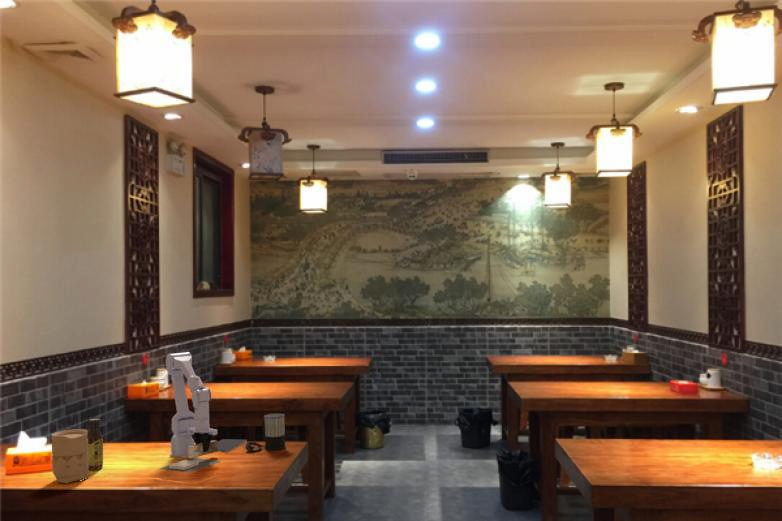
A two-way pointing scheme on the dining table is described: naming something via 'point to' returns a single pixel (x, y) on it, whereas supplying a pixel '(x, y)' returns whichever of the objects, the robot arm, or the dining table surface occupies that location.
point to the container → (70, 455)
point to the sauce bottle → (95, 445)
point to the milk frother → (271, 434)
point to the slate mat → (202, 464)
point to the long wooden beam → (198, 449)
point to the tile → (184, 465)
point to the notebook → (229, 444)
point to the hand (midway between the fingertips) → (203, 451)
